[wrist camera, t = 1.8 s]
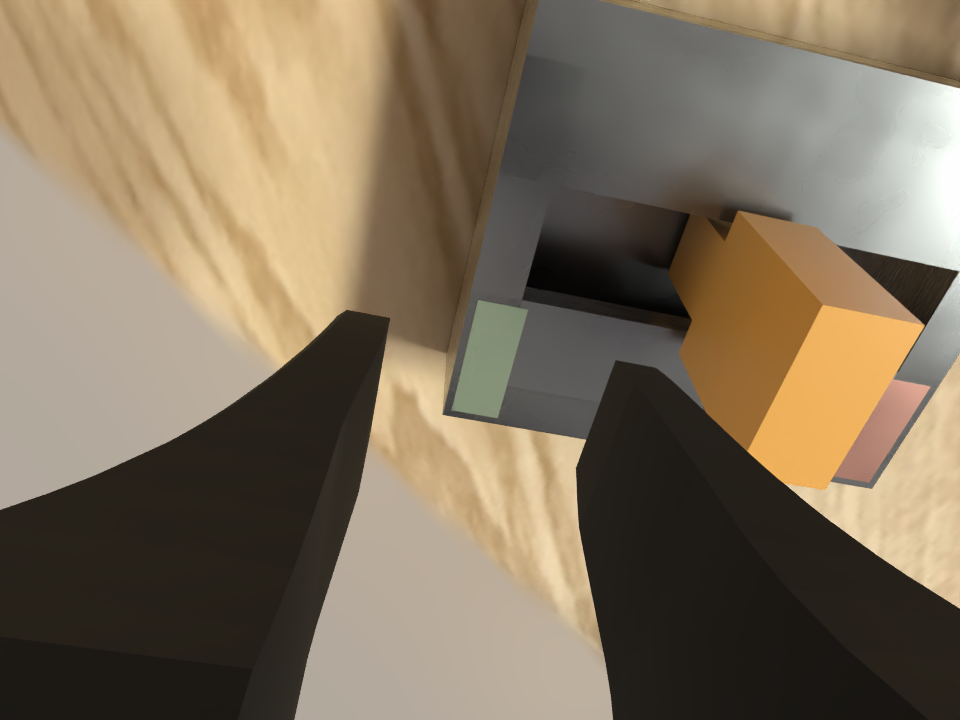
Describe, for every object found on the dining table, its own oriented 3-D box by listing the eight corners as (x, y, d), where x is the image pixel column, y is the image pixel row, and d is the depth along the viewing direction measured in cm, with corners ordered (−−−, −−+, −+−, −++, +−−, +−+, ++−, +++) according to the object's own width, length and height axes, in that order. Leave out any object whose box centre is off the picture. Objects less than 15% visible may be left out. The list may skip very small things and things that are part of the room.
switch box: (826, 423, 23) (872, 489, 20) (446, 354, 21) (442, 415, 19) (1015, 95, 17) (1109, 125, 15) (531, -25, 16) (542, -14, 14)
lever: (716, 312, 20) (825, 489, 14) (653, 300, 20) (735, 474, 13) (771, 186, 18) (925, 325, 12) (702, 171, 18) (822, 304, 12)
